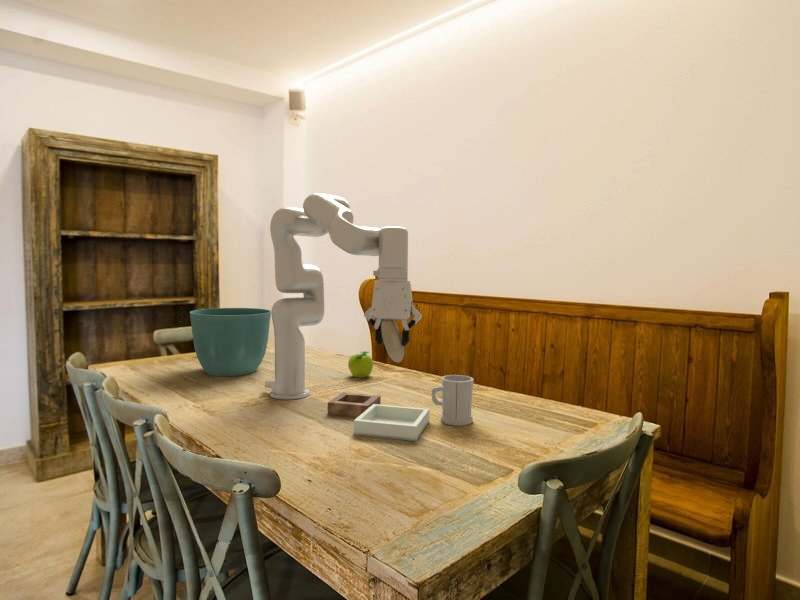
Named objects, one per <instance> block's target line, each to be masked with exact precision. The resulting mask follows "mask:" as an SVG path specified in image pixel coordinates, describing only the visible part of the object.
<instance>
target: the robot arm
mask: <svg viewBox="0 0 800 600" xmlns="http://www.w3.org/2000/svg"><path fill="white" fill-rule="evenodd" d="M269 224H270V226H269V229H270V231H269V232H270V237H271V241H272V245H273V252H274V253H273V255H274V279H275V286H276V289H277V290H278V291H279V292H280V293H283V294H302V295H303V297H300V296H299V297H298V296H297V297H296V296H295V297H285V298H284V297H283V298H280V299H278V300H276V301H275V302H274V303H273V305H272V307H271V310H270V311H271V319H272V325H273V330H274V331H273V332H274V334H273V335H274V380H273V381H272V380H265V382H264V388H270V389H271V390H270V392H269V397H270V398H273V399H276V400H285V401H287V400H288V401H289V400H298V399H300V400H301V399H303V398H306V397H308V396H309V395H310V392H311V391H310V390H309V389H308V388H306V387H305V386H306V383H305V382H306V341H305V340H306V339H305V337H304V335H303V333H302V332H301V330H300V327H311V326H316V325H318V324H320V323H321V322H322V321H323V319H324V316H325V287H324V285H325V283H324V276H323V273H322V271H321V269H320V268H319V267H318V266H316V265H313V264H308V263H307V264H306V263H305V264H304V263H303V259H302V249H301V248H302V247H300V244H299V243H298V240H297V239H296V238H295V237H294V236H299V237H300V236H301V237H312V238H319V237H323V236H325V235H327V234H328V235H329V238H330V240H331V242H332V243H333V244H334V245H335V246H336V247H338V248H339V249H341V250H342V251H344V252H345V253H347V254H349V255H354V256H367V257H368V256H370V257H378V268H377V269H376V270H373V272H372V274H373V276H376V277H377V280H375V281H374V287H373V291H372V300H371V306H370V307H369V308H368V309H367V310H366V311H365V312H364V313H363V316H364V317H365V319H366V320H367V321H368V322H369V323H370V324H371V326H373V328H374V329H375V341H376V342H377V343H376V344H377V345H382V344H384V342H383V338H382V334H381V322H382V319H392V320H394V321H397V320H399V321H401V324H402V326H403V330H401V331H402V332H401V338H402V345H403V346H404V347H406V346H407V345H408V343H410V335H411V334H410V332H411V331H410V330H411V329H412V328H413V327H414V326H415V325H416V324H417V322H419V321H420V320H421V319H422V317H423V315H422V314H421V313H420V312H419V310H418V309H417V308H416V307H415V305H413V304H414V303H413V292H412V285H411V281H410V280H408V277H409V275H408V273H409V271H408V270H409V269H408V266H409V259H408V258H409V233H408V229H407V228H406V227H403V226H383V227H381V228H380V227H379V228H378V227H370V226H359V225H356V224H354V215H353V212H352V210H351V207H350V204H349V202H348V200H346V199H345V198H344V197H341V196H338V195H333V194H328V193H327V194H326V193H319V192H318V193H313V194H310V195H308V196H307V197H306V198H305V199H304V201H303V203H302V208H301V207H300V208H299V207H282V208H279V209H277V210H276V211H275V212H274V213H273V214H272V216H271V219H270V223H269ZM413 316H414V317H413ZM412 317H413V318H412ZM410 318H412V319H411V320H409V319H410Z"/></svg>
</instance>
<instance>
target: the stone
mask: <svg viewBox="0 0 800 600" xmlns="http://www.w3.org/2000/svg"><path fill="white" fill-rule="evenodd" d="M381 334H382V338H383V344H384V346H385V349H386V351H387V352H386V353H387V354H388V356H389V358H390V359H391V360H392V361H394V362H395V363H400V362H402V361H403V359H404V356H405V346H403V345H402V334H401V333H400V330H399V327H398V324H397V322H396V320H392V319H382V322H381Z"/></svg>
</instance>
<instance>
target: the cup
mask: <svg viewBox="0 0 800 600" xmlns="http://www.w3.org/2000/svg"><path fill="white" fill-rule="evenodd" d="M474 380H475V379H474V378H473V377H471V376H469V375H463V374H462V375H461V374H460V375H459V374H450V375H449V374H448V375H444V376H442V377H440V381H441V385H438V386H434V387H432V389H431V401H432V403H433V404H434V405H435V406H441V408H442V410H441V414H440V421H441V423H442V424H446V425H447V426H456V427H462V426H463V427H464V426H468V425H470V424H472V423H473V421H474V417H473V415H472V405H473V404H472V403H473V400H472V399H473V389H474V382H475V381H474ZM438 392H441V399H442V400H439V399H438V397H437V395H436V394H437V393H438Z"/></svg>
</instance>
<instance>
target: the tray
mask: <svg viewBox="0 0 800 600" xmlns="http://www.w3.org/2000/svg"><path fill="white" fill-rule="evenodd" d="M429 423H430V408H423V407H412V406H399V405H390V404H381V405H379V404H373V405H372V406H371V407H369V408H368V409H367V410H366V411H365V412H363V413H362V414H361V415H360V416H358V417H355V419H354V420H353V435H355V436H362V437H364V436H365V437H373V438H382V439H393V440H402V441H411V442H417V441H418V439H419V438H420V436H421V435H422V434H423V432H424V430H425V429H426V427H427V426H428V425H429Z"/></svg>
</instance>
